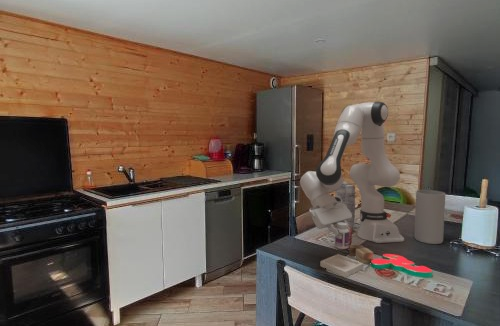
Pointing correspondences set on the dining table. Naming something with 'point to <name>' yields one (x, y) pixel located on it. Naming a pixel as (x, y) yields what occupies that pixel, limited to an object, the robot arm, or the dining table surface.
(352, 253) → the walnut block
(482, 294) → the dining table surface
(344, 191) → the mottled grey cylinder
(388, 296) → the dining table surface
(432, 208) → the cylinder vase
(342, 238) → the pill bottle
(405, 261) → the pink script letter cutout
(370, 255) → the oak block
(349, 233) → the soda can
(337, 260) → the ceramic tray
